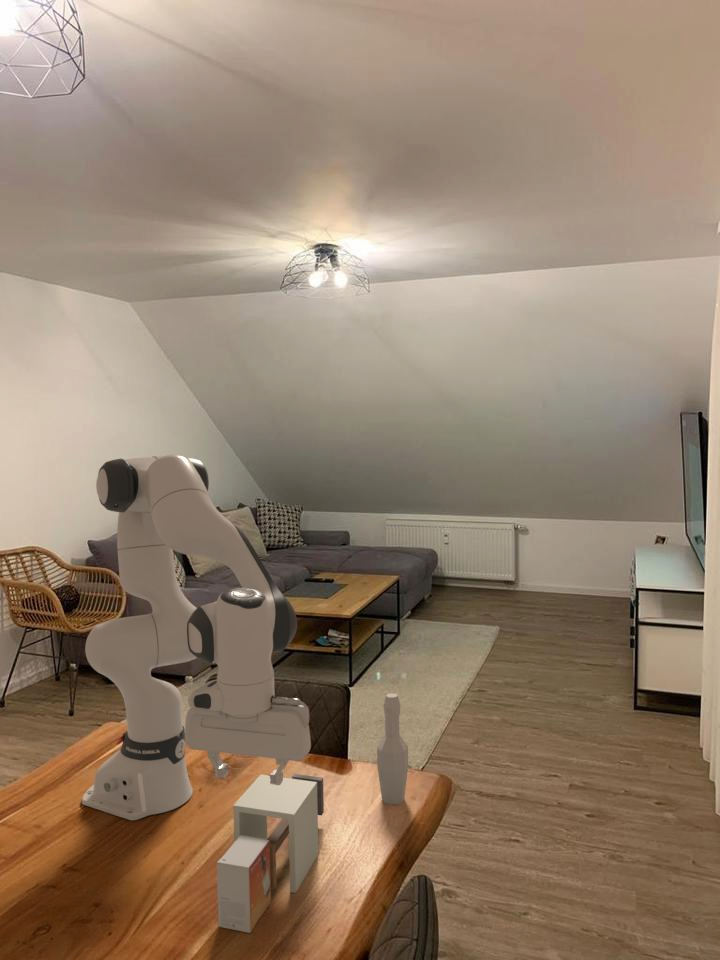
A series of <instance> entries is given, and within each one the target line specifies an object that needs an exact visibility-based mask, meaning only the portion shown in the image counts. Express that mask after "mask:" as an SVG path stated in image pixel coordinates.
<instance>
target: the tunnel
mask: <svg viewBox="0 0 720 960" xmlns="http://www.w3.org/2000/svg"><path fill="white" fill-rule="evenodd" d="M270 781H271V779H270V774H269V775H267V774H260V775H258V777H257V778H256V779H255V780H254V781H253V782H252V783H251V785H249V787H248V788H247V789H246V790H245V791H244V793H242V795H241V796H240V798H238V799H237V800H236V802H235V803H234V804H233V808H232V809H233V840H234V842H235V841H236V839H237V838H238V837H239V835H244V836H250V837H255V838H261V839H268V818H267V817H269V818H270V817H271V818H277V819H281V820H282V819H288V820H289V834H288V845H289V846H288V851H289V852H288V853H289V856H288V857H289V893H293V894H296V893H298V892H297V891H298V890H299V889H300V887H301V885H302V884H303V881H304V880H305V879H306V877H307V875H308V873H309V871H310V870H311V868H312V866H313V865H314V863H315V861H316V859H317V858H318V856H319V815H318V806H317V782H313V781H305V780H298V779H292V777H291V778H290V777H283V781H282V783H281V784H280V785H272V784H270ZM234 842H233V843H234Z"/></svg>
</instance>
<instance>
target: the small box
mask: <svg viewBox="0 0 720 960" xmlns="http://www.w3.org/2000/svg"><path fill="white" fill-rule="evenodd" d="M267 839H268V838H267ZM267 839H261V838H255V837H250V836H244V835H239V837H238V838H237V839H236V841H235V842H233V843H232V845H230V847H229V848H228V849H227V851H226V852H225V853H224V854H223V855H222V856H221V858H219V859H218V861H216V879H217V880H216V882H217V885H216V887H217V914H218V917H217V919H218V927H219V928H224V929H228V930H234V931H238V932H243V933H247V934H250V933H252V932H253V930H254V928H255V927H256V924H257V923H258V922H259V919H261V917H262V915H263V914H264V912H266V910H267V908H268V906H269V905H270V904H271V903H272V891H271V890H272V889H271V877H270V840H267Z"/></svg>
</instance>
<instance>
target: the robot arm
mask: <svg viewBox="0 0 720 960" xmlns="http://www.w3.org/2000/svg"><path fill="white" fill-rule="evenodd" d="M95 483H96V485H95V487H96V494H97V497H98V499H99V502H100V504H101V505H102V506H103V507H104V508H105V509H106V510H107V511H110V512H115V513H118V518H117V529H116V531H117V532H116V533H117V534H116V542H117V543H116V544H117V545H116V547H117V558H118V559H117V560H118V562H117V563H118V574H119V575H118V576H119V584H120V586H121V588H122V590H124V591H125V592H126V593H127V594H129V595H131V596H134V597H136V598H138V599H139V598H140V599H142V600H145V601H147V602H148V603H149V604H150V606H151V609H152V612H151V613H148V614H140V615H133V616H125V617H124V616H123V617H118V618H115V619H112V620H108V621H105V622H102V623H99V624H97V625H94V626H93V628H91V630H90V632H89V634H88V636H87V638H86V641H85V649H84V651H85V657H86V659H87V660H86V661H87V662H88V664H89V665H90V667H91V668H92V669H93V670H94V671H96V672H97V673H98V674H101V675H103V676H104V677H106V678H108V679H109V680H110V681H111V682H113V683H114V685H115V686H116V687H117V688H118V690H119V692H120V693H121V696H122V698H123V702H124V707H125V715H126V724H127V725H126V726H127V730H126V731H125V732H123V733H122V735H121V736H120V737H118V738H116V740H115V741H117V742H116V743H115V745H117V746H118V745H119V744H121V743H122V745H121V747H120V749H119V750H117V751H116V752H115V753H114V754H112V755H111V756H109V758H108V759H107V760H105V761H104V762H103V763H102V764H101V765H100V766H99V767H98V769H97V771H96V773H95V776H94V779H93V780H94V781H93V784H92V785H91V786H90V787H89V788H88V789H87V790H86V791H85V793H84V794H83V796H82V799H81V804H82V805H84V806H86V807H90V808H92V809H95V810H99V811H102V812H104V813H107V814H110V815H112V816H113V815H114V816H116V817H120V818H122V819H126V820H129V821H137V820H140V819H143V818H145V817H148V816H152V815H157V814H162V813H163V814H164V813H166V812H170V811H172V810H175V809H177V808H179V807H181V806H182V805H184V804H185V803H186V802H188V801H189V800H190V799H191V797H192V795H193V793H194V792H193V791H194V789H193V787H192V784H191V781H190V778H189V774H188V770H187V769H188V768H187V765H186V764H187V763H186V757H185V755H186V745H187V746H188V748H189V749H190V750H195V751H205V752H207V759H208V760H209V762H210V763H211V765H212V767H213V768H214V778H216V779H225V778H226V777H227V776H228V775H229V763H226V762H224V761H223V759H222V757H221V754H220V753H223V754H229V755H230V754H231V755H238V756H239V755H240V756H248V757H259V758H266V759H275V765H276V766H278V767H277V769H275V768H274V769H273V770H272V772H270V773H269V776H270V779H271V781H270V784H272V785H280V784H281V783H282V781H283V778H284V770H285V768H286V766H288V765H287V764H288V763H289V761H292V762H301V761H303V760H304V758H306V756H308V754H309V752H310V750H311V748H312V742H311V732H310V726H309V724H310V709H309V706H307V704H306V703H305V702H303V701H301V699H300V698H297V697H291V698H290V697H284V696H275V695H276V694H275V671H274V667H273V664H272V654H273V653H281V652H282V653H283V651H285V650H286V649H287V647H288V646H289V645H290V644H291V643H292V641H293V639H294V637H295V635H296V633H297V629H298V619H297V614H296V612H295V609H294V607H293V605H292V604H291V602H290V601H289V600H288V598H287V597H286V596H285V595H284V594H283V593H282V592H281V590H280V589H279V588H278V586H277V585H276V583H275V582H274V579H273V578H272V577H271V575H270V573H269V572H268V570H267V568H266V566H265V565H264V562H263V561H262V560H261V558H260V557H259V555H258V552H257V551H256V550H255V548H254V546H253V545H252V543H251V542H250V540H249V539H248V537H247V535H246V534H245V532H244V530H242V529H241V527H240V526H238V524H236V523H234V522H232V521H230V520H229V519H228V518H226V517H225V516H224V515H223V514H222V513H221V512H220V511H219V509H217V508H216V506H215V504H214V503H213V502H212V500H211V499H212V498H211V497H210V495H209V492H208V491H209V483H210V482H209V473H208V470H207V468H206V467H205V465H204V464H203V462H202V460H199V459H197V458H192V457H188V456H182V455H178V454H168V455H167V454H166V455H163V456H162V455H160V456H159V455H158V456H156V455H155V456H154V455H153V456H150V457H147V456H146V457H135V458H128V459H127V458H126V459H124V458H115V459H111V460H108V461H106V462H104V463H103V465H101V467H100V468H99V470H98V473H97V478H96V481H95ZM174 551H175V552H177V553H180V554H182V555H185V556H186V555H187V556H195V557H199V558H206V559H209V560H212V561H215V562H219V563H221V564H223V565H225V566H227V567H228V568H229V569H230V570H232V572H233V574H234V576H235V578H236V579H237V581H238V582H239V584H240V586H241V587H236V588H235V587H234V588H231V589H227V590H224V591H223V592H222V593H221V594H219V595H218V597H217V600H216V601H214V602H210V603H207V604H203V605H201V606H198V607H196V606H195V605H194V604H193V603H191V602H190V600H189V599H187V597H186V595H185V594H184V593H183V591H182V589H181V587H180V585H179V582H178V578H177V573H176V567H175V558H174ZM195 659H198V660H199V661H202V662H203V663H206V664H216V665H217V667H218V670H217V675H216V679H213V680H210V681H207V682H205V683H204V684H202V685H200V686H198V687H197V689H195V690H194V691H193V692H191V693H190V694H189V695H188V697H187V702H188V706H189V707H190V708H189V709H188V710H187V712H186V716H185V726H184V725H183V706H182V705H183V704H182V703H183V701H182V699H183V698H182V695H181V694H182V693H181V692H180V690H179V689H178V687H176V686H175V685H174V684H173V683H170V682H168V681H166V680H162V679H159V678H156V677H153V676H152V673H151V672H152V670H153V669H155V668H158V667H165V666H171V665H176V664H182V663H188V662H191V661H192V660H195Z"/></svg>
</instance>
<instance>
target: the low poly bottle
mask: <svg viewBox="0 0 720 960" xmlns="http://www.w3.org/2000/svg"><path fill="white" fill-rule="evenodd" d="M384 698H385V699H384V703H383V712H384V713H383V714H384V729H385V731H384V732H385V733H384V735H383V737H382V738H381V740H380V741H379V743H378V744H377V745H376V753H377V754H376V760H377V761H376V762H377V765H376V766H377V772H378V773H377V774H378V779H379V780H378V781H379V787H380V795H381V800H382V802H383V804H385V803H386V804H385V805H391V806H394V805H401V804H403V802H404V800H405V799H406V798H405V796H406V788H407V787H406V786H407V781H408V780H407V779H408V770H409V769H408V768H409V745H408V744H407V743H406V741H405V740H404V739H403V738H402V736H401V734H400V715H401V714H400V713H401V702H400V700H399V696H398V694H397V693H387V694H386V696H385V697H384Z"/></svg>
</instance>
